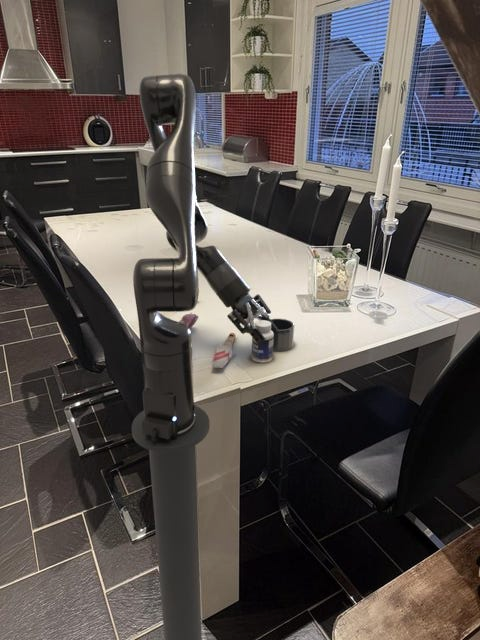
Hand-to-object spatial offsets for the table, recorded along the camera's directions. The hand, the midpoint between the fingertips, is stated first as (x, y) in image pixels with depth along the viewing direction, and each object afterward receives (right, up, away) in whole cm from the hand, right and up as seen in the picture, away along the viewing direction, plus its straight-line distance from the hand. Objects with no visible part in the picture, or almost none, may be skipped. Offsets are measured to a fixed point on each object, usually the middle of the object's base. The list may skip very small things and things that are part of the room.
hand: (268, 336), depth 116 cm
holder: (+3, -2, +10) cm, 11 cm away
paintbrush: (-11, -5, +5) cm, 13 cm away
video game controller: (-23, 0, +16) cm, 28 cm away
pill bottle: (-2, -6, +3) cm, 7 cm away
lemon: (-23, +10, +39) cm, 46 cm away
